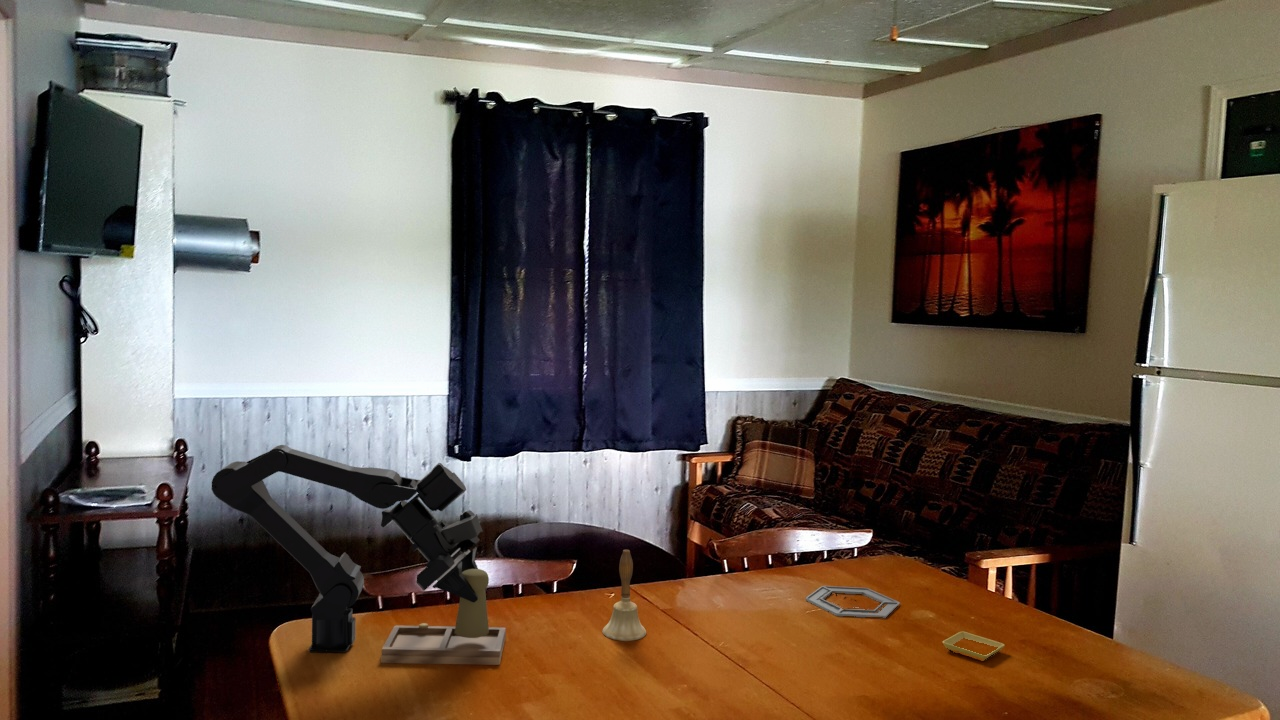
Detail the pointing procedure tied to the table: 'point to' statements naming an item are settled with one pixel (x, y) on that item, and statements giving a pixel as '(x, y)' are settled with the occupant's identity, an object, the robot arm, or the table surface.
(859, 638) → the table surface
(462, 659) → the divided tray
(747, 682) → the table surface
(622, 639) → the hand bell
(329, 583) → the robot arm
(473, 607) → the olive pepper mill
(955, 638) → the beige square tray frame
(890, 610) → the grey hexagonal frame
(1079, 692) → the table surface
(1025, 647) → the table surface
